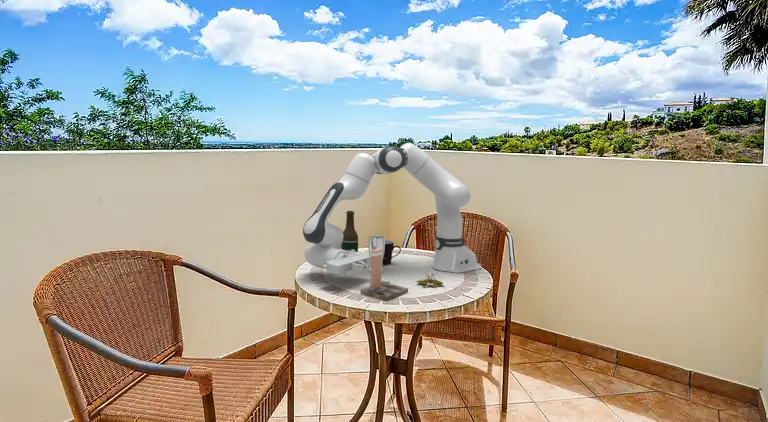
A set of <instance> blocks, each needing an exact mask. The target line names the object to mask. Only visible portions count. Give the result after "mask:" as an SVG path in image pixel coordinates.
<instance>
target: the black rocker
mask: <svg viewBox="0 0 768 422" xmlns="http://www.w3.org/2000/svg"><path fill="white" fill-rule="evenodd" d="M386 291H387V290H386V289H379V288H378V289H376V290H374V292H375V293H384V292H386Z"/></svg>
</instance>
